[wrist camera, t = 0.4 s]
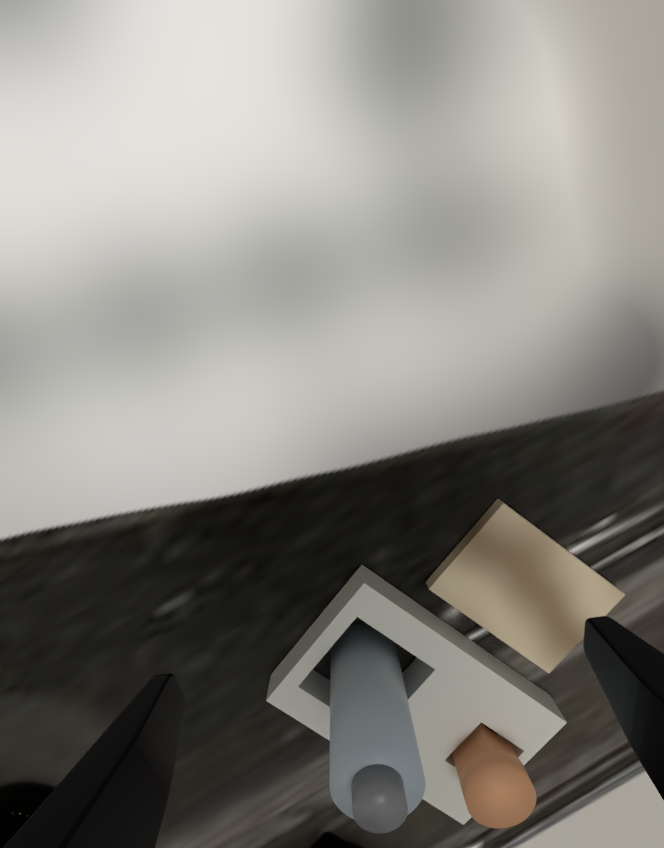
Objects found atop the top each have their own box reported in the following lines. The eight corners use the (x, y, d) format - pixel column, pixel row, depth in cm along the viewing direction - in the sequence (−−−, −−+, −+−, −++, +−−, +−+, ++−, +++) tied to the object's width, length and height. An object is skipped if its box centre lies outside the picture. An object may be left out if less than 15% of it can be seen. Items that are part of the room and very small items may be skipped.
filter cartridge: (369, 692, 26) (388, 866, 17) (317, 658, 26) (309, 819, 17) (410, 647, 25) (451, 803, 17) (357, 611, 25) (370, 751, 16)
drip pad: (542, 663, 26) (549, 673, 25) (425, 581, 25) (428, 589, 24) (616, 587, 25) (625, 594, 24) (497, 498, 24) (503, 503, 23)
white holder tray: (454, 791, 27) (463, 825, 25) (271, 674, 26) (266, 700, 24) (549, 694, 26) (567, 722, 24) (361, 564, 24) (364, 583, 22)
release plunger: (484, 783, 25) (504, 839, 22) (438, 753, 25) (452, 806, 22) (524, 742, 25) (550, 794, 22) (477, 711, 24) (497, 759, 22)
